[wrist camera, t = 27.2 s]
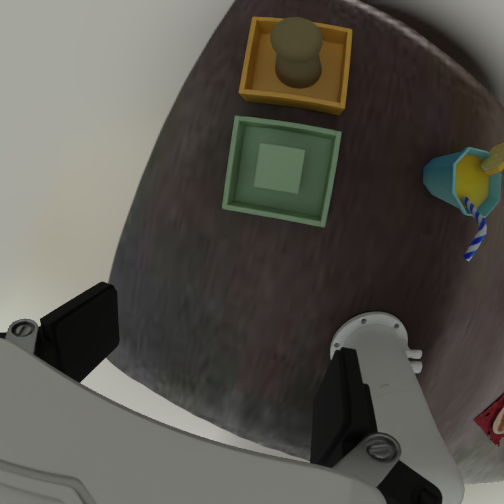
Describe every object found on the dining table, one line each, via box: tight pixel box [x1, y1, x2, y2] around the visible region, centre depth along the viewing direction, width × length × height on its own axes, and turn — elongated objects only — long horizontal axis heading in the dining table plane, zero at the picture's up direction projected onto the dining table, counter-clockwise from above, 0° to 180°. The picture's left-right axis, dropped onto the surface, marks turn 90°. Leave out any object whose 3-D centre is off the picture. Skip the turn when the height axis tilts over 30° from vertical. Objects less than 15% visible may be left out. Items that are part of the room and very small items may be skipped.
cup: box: [423, 142, 504, 261], centre depth 25 cm, size 14×8×15 cm, turn 158°
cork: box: [270, 17, 323, 89], centre depth 25 cm, size 6×6×11 cm
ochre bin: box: [239, 17, 352, 116], centre depth 29 cm, size 12×11×4 cm
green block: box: [254, 143, 305, 194], centre depth 32 cm, size 5×5×5 cm
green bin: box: [222, 116, 342, 227], centre depth 33 cm, size 12×11×4 cm
